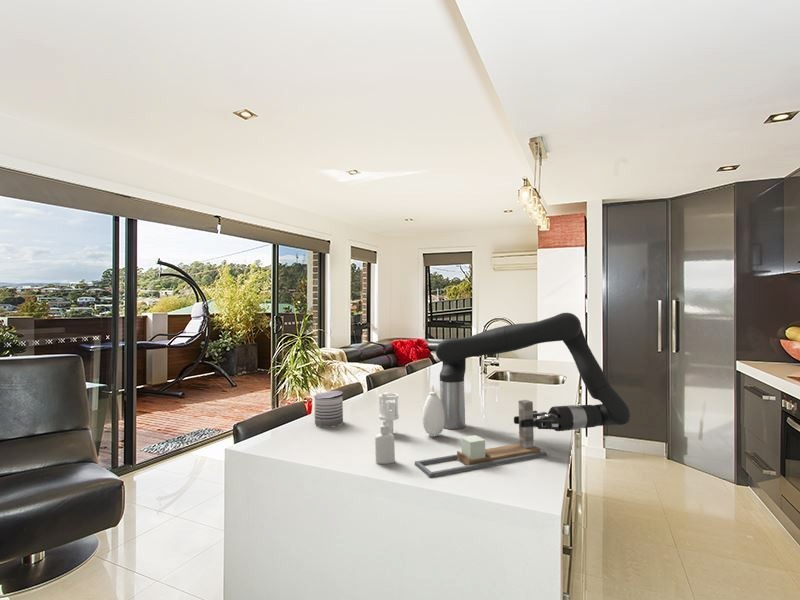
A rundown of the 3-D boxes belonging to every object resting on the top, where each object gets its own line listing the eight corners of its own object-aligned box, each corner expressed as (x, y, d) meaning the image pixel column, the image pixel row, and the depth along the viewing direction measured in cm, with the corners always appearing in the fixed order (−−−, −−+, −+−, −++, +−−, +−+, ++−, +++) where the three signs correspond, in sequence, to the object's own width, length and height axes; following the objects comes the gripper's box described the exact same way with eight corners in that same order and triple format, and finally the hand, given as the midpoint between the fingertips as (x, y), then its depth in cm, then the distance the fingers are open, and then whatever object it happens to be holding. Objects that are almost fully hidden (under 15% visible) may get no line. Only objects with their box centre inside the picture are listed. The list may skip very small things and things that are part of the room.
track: (414, 465, 124) (414, 461, 124) (525, 445, 138) (525, 442, 138) (429, 477, 114) (429, 473, 114) (547, 455, 129) (546, 452, 129)
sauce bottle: (444, 440, 146) (442, 387, 146) (421, 439, 147) (420, 386, 148) (446, 433, 154) (445, 382, 154) (424, 432, 155) (423, 382, 155)
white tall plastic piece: (375, 434, 153) (375, 392, 154) (385, 429, 160) (384, 389, 160) (393, 437, 150) (392, 394, 150) (402, 431, 156) (401, 390, 157)
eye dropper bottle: (379, 458, 130) (378, 418, 130) (396, 460, 128) (395, 420, 128) (373, 463, 126) (372, 422, 126) (391, 465, 124) (390, 423, 124)
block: (461, 454, 127) (461, 437, 127) (476, 452, 129) (475, 435, 129) (470, 460, 122) (470, 442, 122) (485, 457, 124) (485, 440, 124)
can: (340, 427, 164) (340, 396, 164) (311, 427, 164) (310, 396, 164) (345, 419, 175) (344, 390, 176) (317, 419, 176) (317, 390, 176)
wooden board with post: (457, 459, 127) (455, 406, 127) (526, 446, 137) (524, 398, 137) (469, 467, 121) (468, 411, 121) (540, 453, 130) (539, 402, 130)
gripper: (554, 401, 142) (506, 404, 139) (581, 411, 129) (528, 415, 125) (555, 423, 142) (507, 428, 139) (581, 436, 128) (529, 441, 125)
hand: (517, 422), depth 132 cm, fingers closed on wooden board with post, 3 cm apart
